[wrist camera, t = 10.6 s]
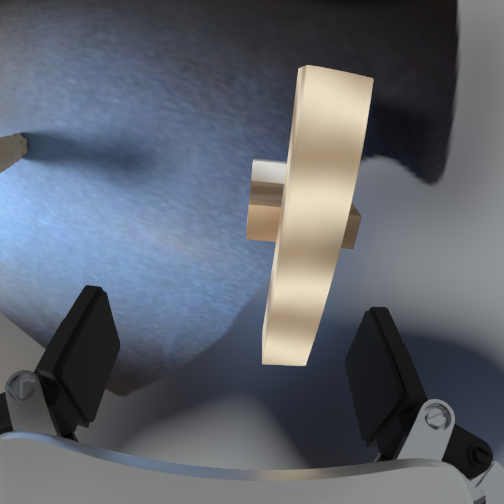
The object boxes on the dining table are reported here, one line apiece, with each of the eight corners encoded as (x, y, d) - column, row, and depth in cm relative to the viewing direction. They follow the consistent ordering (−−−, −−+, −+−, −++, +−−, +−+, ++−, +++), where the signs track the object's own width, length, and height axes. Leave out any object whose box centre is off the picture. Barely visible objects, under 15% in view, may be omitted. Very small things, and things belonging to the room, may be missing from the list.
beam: (298, 68, 18) (307, 64, 15) (353, 78, 18) (373, 78, 15) (262, 333, 30) (262, 363, 27) (301, 335, 31) (305, 365, 27)
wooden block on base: (253, 158, 28) (251, 179, 22) (345, 169, 29) (366, 193, 23) (247, 224, 32) (244, 260, 26) (332, 233, 32) (347, 268, 26)
